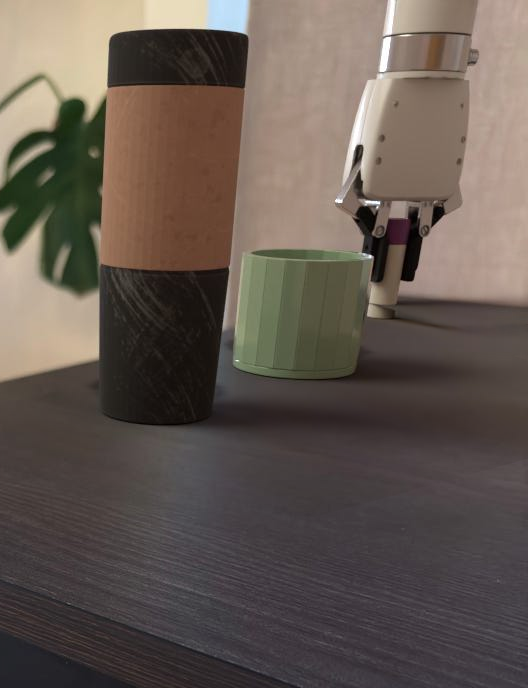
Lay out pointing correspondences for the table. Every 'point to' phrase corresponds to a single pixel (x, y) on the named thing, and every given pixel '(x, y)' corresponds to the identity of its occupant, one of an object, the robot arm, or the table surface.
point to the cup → (301, 312)
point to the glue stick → (390, 270)
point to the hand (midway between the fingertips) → (386, 278)
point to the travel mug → (167, 219)
